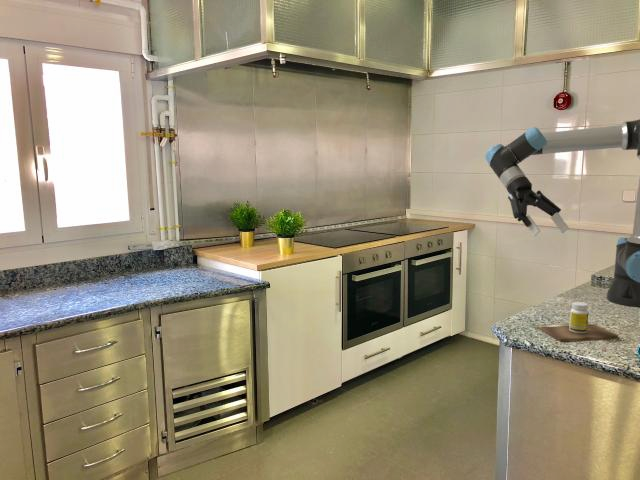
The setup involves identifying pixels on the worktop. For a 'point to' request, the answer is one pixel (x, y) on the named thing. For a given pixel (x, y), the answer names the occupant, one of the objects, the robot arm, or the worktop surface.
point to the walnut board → (564, 334)
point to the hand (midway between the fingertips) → (551, 232)
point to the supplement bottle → (578, 317)
